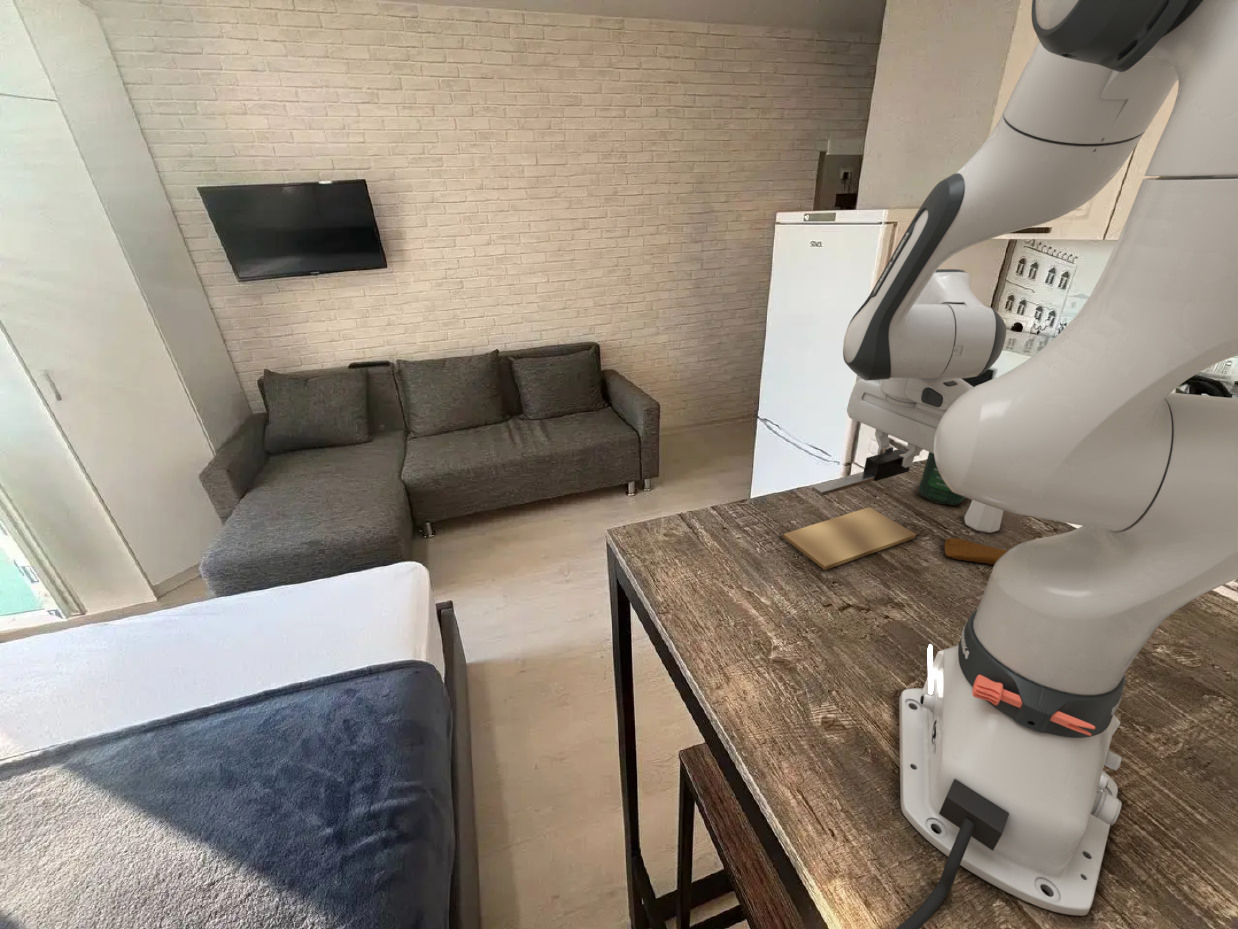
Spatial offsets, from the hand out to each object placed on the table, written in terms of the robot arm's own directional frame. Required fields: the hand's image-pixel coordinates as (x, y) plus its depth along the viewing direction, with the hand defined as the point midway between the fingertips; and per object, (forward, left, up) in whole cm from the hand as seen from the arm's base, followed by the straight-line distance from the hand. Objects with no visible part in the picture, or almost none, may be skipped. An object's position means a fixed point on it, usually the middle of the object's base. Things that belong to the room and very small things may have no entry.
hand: (894, 460), depth 84 cm
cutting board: (-6, +3, -13) cm, 15 cm away
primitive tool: (0, -20, -14) cm, 24 cm away
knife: (-6, +4, -2) cm, 7 cm away
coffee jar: (+19, -8, -14) cm, 24 cm away
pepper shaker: (+11, -15, -14) cm, 23 cm away
